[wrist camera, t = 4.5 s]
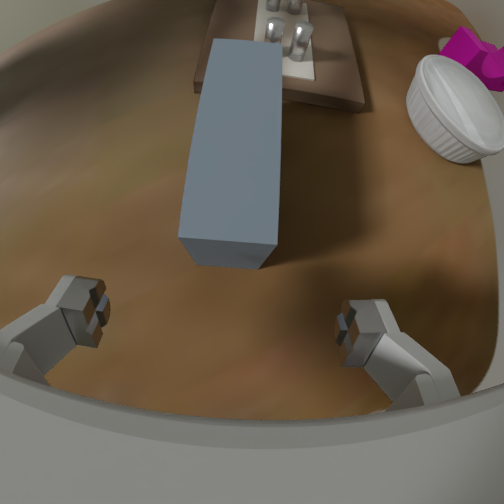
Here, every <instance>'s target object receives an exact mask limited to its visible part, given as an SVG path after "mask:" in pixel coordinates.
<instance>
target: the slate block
mask: <svg viewBox="0 0 504 504" xmlns="http://www.w3.org/2000/svg"><path fill="white" fill-rule="evenodd" d="M281 123H282V44H277V43H269V42H260V41H249V40H235V39H213V43H212V47H211V51H210V56H209V60H208V64H207V69H206V73H205V77H204V82H203V87H202V91H201V96H200V101H199V106H198V111H197V116H196V121H195V127H194V132H193V138H192V143H191V149H190V155H189V161H188V167H187V174H186V180H185V187H184V194H183V201H182V208H181V216H180V224H179V232H178V238H179V240H180V241H181V242H182V244H183V245H184V247H185V248H186V250H187V251H188V253H189V254H190V256H191V257H192V258H193V260H194V261H195V263H196V264H197V265H205V266H217V267H231V268H244V269H259V268H260V266H261V265H262V264H263V263H264V261H265V260H266V259H267V257H268V256H269V255H270V254H271V252H272V251H273V250H274V248H275V247H276V246H277V243H278V220H279V194H280V163H281Z"/></svg>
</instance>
